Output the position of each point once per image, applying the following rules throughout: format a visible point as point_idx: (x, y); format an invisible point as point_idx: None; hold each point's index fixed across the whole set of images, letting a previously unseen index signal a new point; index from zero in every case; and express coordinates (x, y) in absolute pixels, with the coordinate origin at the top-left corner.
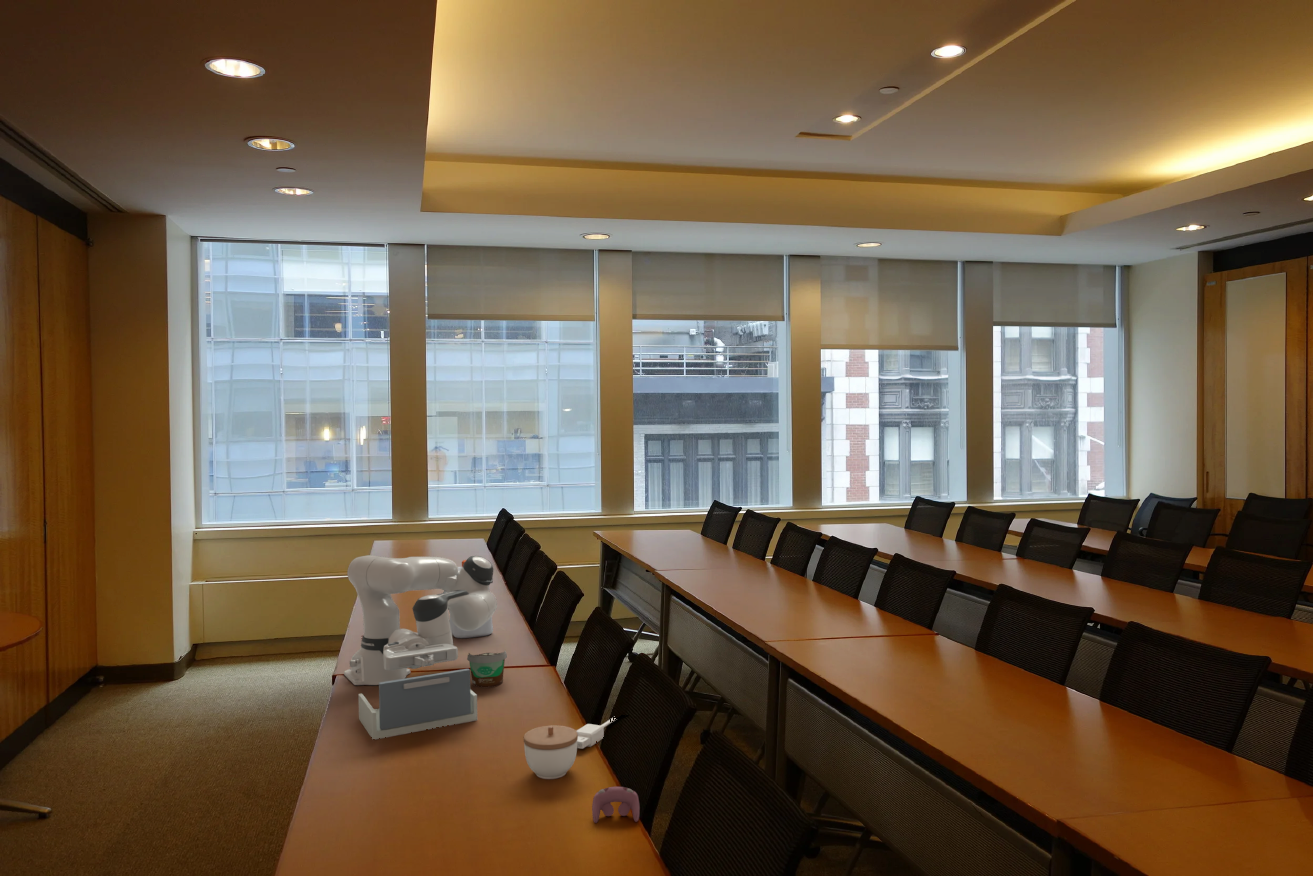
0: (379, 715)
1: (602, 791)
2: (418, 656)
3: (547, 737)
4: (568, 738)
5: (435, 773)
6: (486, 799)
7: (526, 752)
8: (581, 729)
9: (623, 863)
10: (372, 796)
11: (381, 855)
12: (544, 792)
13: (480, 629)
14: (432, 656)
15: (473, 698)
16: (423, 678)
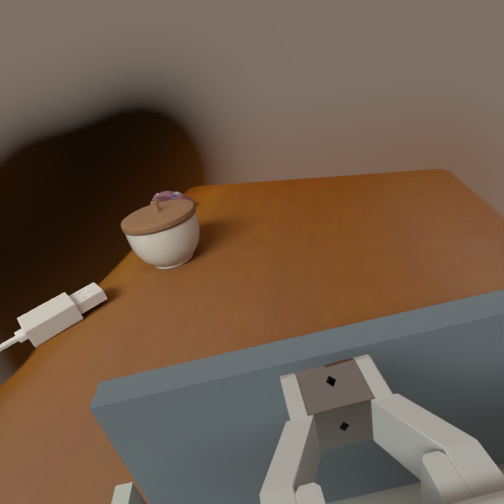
0: None
1: (176, 192)
2: (455, 491)
3: (167, 205)
4: (148, 206)
5: (322, 266)
6: (265, 225)
7: (197, 220)
8: (57, 307)
9: (205, 186)
10: (408, 228)
11: (364, 179)
12: (204, 232)
13: None
14: (278, 449)
15: (137, 490)
16: (355, 328)
